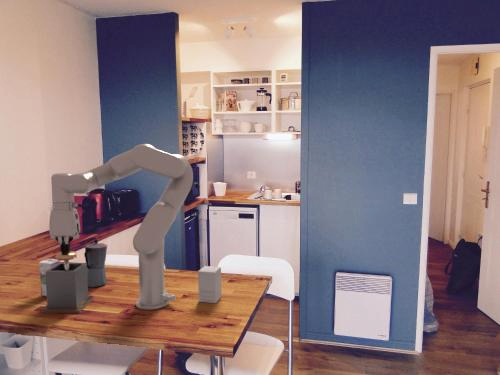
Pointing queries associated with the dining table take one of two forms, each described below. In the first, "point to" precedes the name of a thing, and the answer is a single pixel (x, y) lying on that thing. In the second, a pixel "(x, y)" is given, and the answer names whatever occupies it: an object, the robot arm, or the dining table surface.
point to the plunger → (66, 258)
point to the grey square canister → (67, 289)
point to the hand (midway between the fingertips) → (65, 253)
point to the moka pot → (96, 263)
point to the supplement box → (209, 284)
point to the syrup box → (44, 267)
